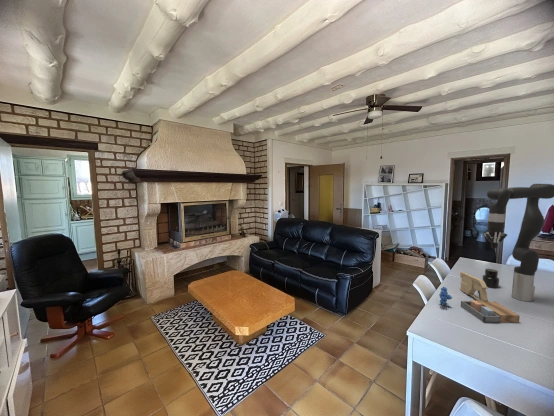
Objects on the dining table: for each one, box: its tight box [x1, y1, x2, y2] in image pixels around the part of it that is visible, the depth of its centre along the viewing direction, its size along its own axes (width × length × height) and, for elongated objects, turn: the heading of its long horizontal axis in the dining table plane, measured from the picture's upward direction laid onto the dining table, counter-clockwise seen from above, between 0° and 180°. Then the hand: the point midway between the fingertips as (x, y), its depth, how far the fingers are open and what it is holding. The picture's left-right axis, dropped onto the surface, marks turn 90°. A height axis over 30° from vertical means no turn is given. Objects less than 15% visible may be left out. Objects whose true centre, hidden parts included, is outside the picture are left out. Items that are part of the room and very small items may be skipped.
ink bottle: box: [482, 268, 500, 289], centre depth 170 cm, size 10×9×12 cm
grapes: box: [438, 286, 453, 306], centre depth 142 cm, size 12×7×12 cm, turn 140°
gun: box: [459, 271, 489, 302], centre depth 152 cm, size 24×3×15 cm, turn 169°
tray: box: [460, 300, 501, 324], centre depth 133 cm, size 8×17×4 cm, turn 177°
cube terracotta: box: [470, 300, 482, 312], centre depth 136 cm, size 4×4×3 cm
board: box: [478, 301, 520, 323], centre depth 132 cm, size 10×15×4 cm, turn 177°
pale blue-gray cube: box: [481, 307, 494, 316], centre depth 129 cm, size 4×4×3 cm
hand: (493, 248), depth 143 cm, fingers closed
